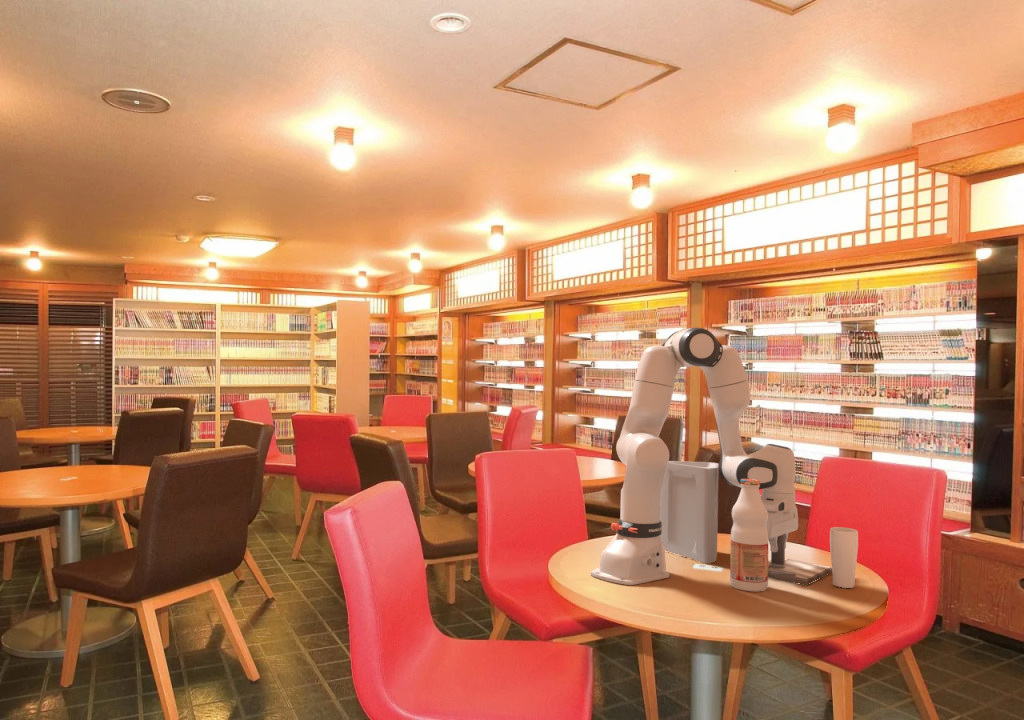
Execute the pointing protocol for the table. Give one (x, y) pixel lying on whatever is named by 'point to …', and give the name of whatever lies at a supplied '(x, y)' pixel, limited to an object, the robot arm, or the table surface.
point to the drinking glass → (843, 556)
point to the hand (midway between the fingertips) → (778, 550)
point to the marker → (779, 554)
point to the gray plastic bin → (690, 509)
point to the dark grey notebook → (799, 572)
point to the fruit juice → (749, 540)
